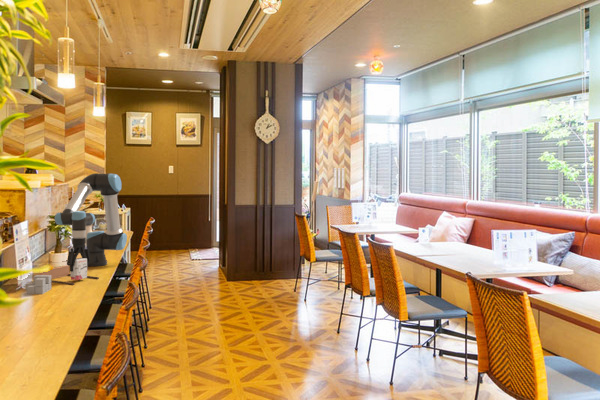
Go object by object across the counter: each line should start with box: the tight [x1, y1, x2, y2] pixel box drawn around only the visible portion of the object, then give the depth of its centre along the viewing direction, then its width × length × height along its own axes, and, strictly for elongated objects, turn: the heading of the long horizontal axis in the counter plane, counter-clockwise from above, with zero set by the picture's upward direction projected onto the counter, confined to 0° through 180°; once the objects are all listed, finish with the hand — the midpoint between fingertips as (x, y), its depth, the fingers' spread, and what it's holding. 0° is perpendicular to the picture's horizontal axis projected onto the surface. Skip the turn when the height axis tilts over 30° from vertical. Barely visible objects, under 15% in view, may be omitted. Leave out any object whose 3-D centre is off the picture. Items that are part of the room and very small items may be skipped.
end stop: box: [39, 264, 70, 280], centre depth 319 cm, size 20×2×6 cm, turn 158°
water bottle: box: [85, 223, 94, 245], centre depth 388 cm, size 10×9×28 cm
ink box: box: [70, 257, 88, 281], centre depth 312 cm, size 9×5×12 cm, turn 162°
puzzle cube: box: [25, 274, 52, 295], centre depth 283 cm, size 12×12×8 cm
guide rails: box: [51, 273, 100, 286], centre depth 315 cm, size 20×25×1 cm
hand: (78, 275), depth 312 cm, fingers closed on ink box, 9 cm apart
